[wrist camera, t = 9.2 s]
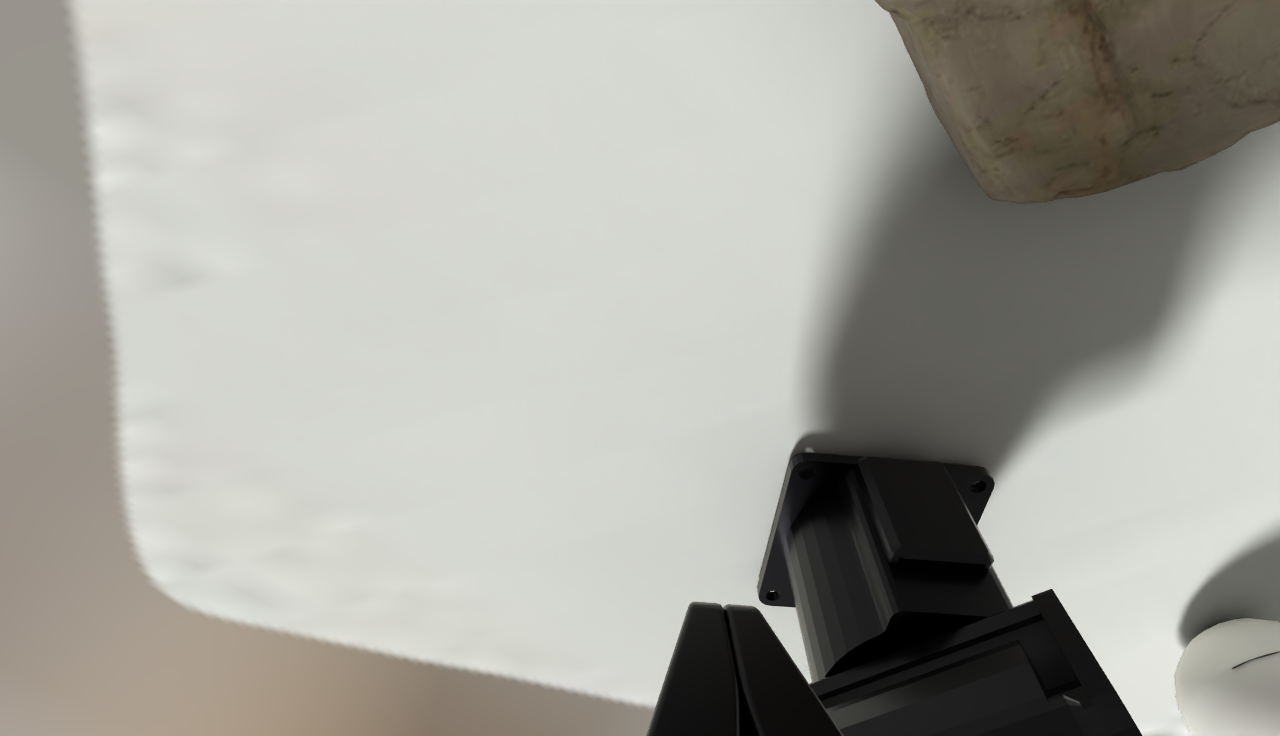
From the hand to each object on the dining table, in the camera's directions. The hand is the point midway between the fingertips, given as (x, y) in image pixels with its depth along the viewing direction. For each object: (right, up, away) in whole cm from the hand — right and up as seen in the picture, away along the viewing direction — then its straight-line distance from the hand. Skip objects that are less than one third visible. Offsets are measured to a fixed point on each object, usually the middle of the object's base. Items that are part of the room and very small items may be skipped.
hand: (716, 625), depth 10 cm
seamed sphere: (+21, -6, +20) cm, 29 cm away
